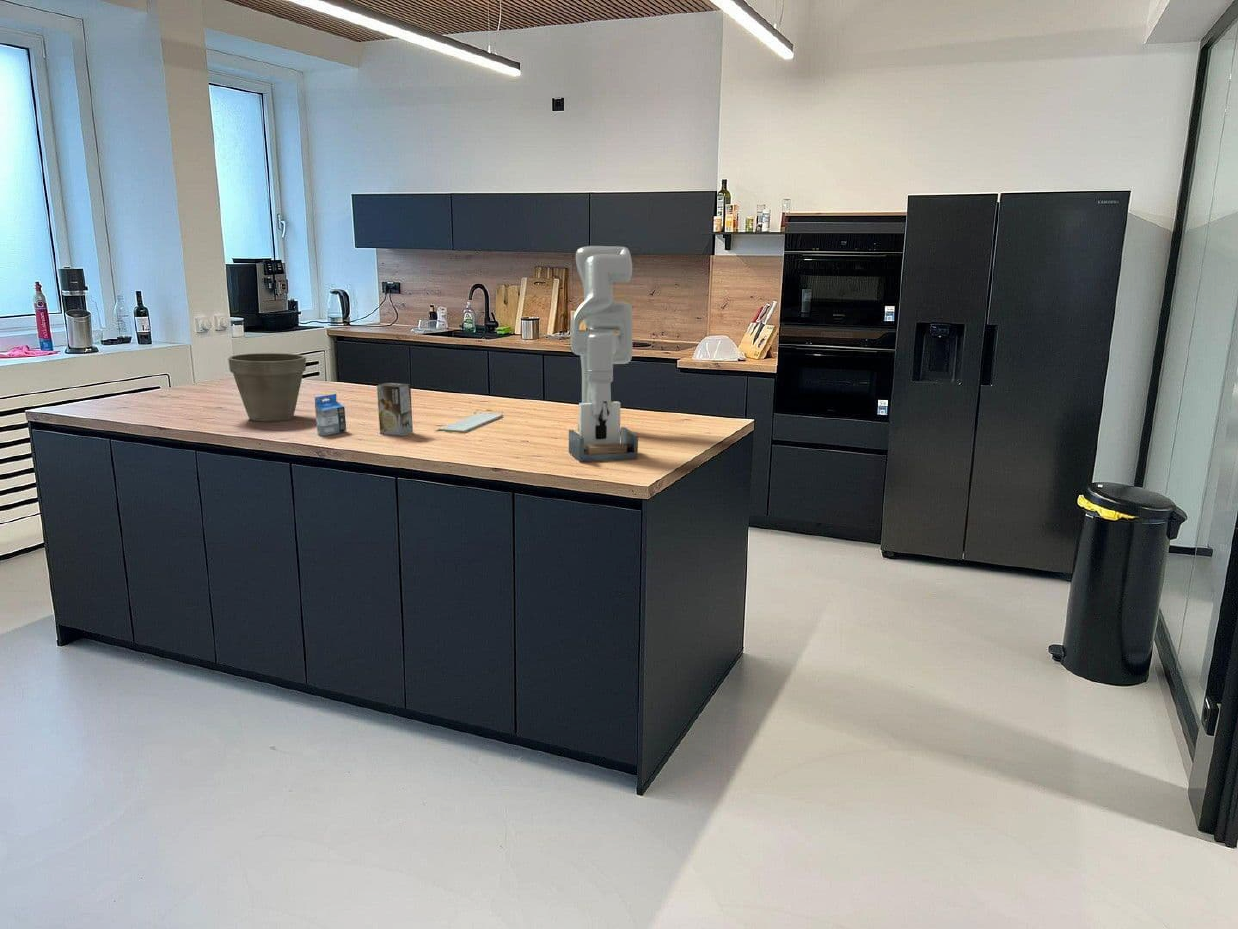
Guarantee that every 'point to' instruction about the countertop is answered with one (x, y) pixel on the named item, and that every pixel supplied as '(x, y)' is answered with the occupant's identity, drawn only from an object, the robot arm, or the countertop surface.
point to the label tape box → (329, 415)
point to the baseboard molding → (470, 422)
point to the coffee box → (395, 409)
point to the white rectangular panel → (590, 422)
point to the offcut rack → (578, 453)
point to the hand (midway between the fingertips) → (599, 437)
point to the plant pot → (268, 383)
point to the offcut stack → (606, 448)
